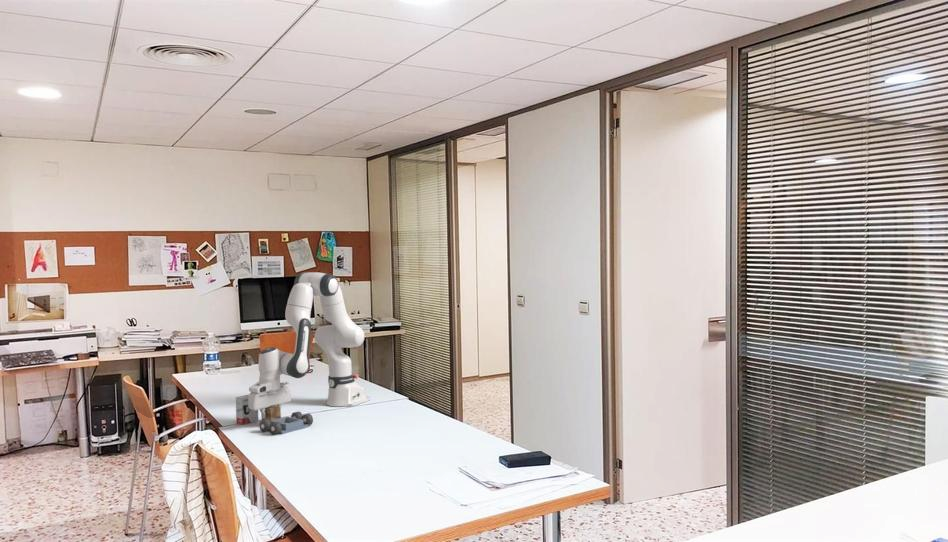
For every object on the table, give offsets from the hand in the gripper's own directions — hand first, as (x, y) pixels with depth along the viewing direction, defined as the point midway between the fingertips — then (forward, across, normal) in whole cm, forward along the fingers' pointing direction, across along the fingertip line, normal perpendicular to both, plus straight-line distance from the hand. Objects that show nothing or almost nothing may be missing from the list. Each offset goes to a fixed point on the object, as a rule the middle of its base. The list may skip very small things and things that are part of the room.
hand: (271, 416), depth 298 cm
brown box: (+3, 0, 0) cm, 3 cm away
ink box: (+4, +4, -13) cm, 14 cm away
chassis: (+4, 0, +11) cm, 12 cm away
